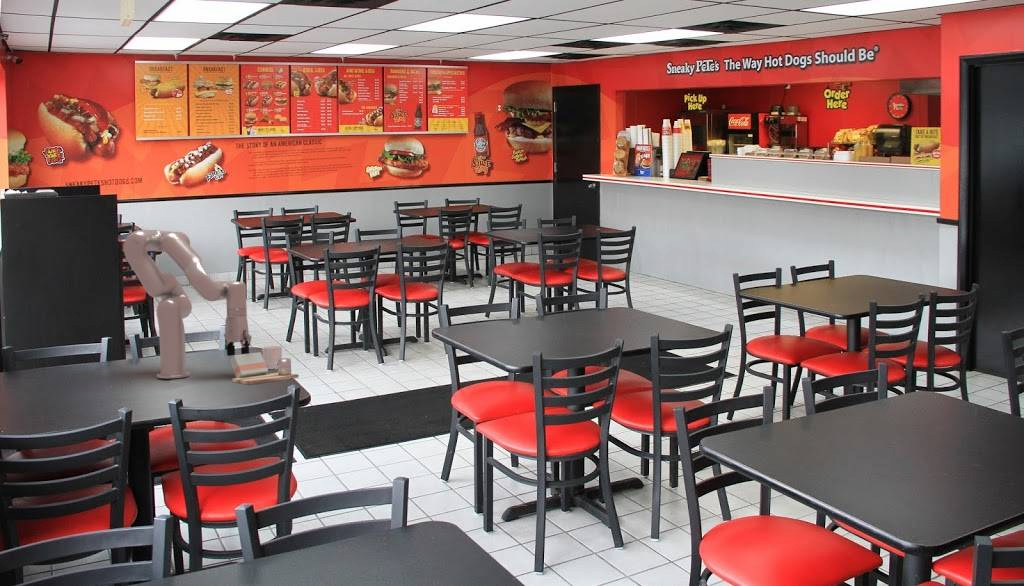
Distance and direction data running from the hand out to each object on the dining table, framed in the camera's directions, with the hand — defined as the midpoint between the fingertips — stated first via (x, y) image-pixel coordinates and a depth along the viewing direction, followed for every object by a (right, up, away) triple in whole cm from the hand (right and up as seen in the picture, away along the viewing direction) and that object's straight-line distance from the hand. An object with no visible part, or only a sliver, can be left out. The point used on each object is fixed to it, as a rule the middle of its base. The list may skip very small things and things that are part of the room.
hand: (238, 356), depth 385 cm
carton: (+4, -4, -4) cm, 7 cm away
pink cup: (+10, -7, +16) cm, 20 cm away
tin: (+19, -7, -4) cm, 21 cm away
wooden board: (+13, -9, -8) cm, 18 cm away
